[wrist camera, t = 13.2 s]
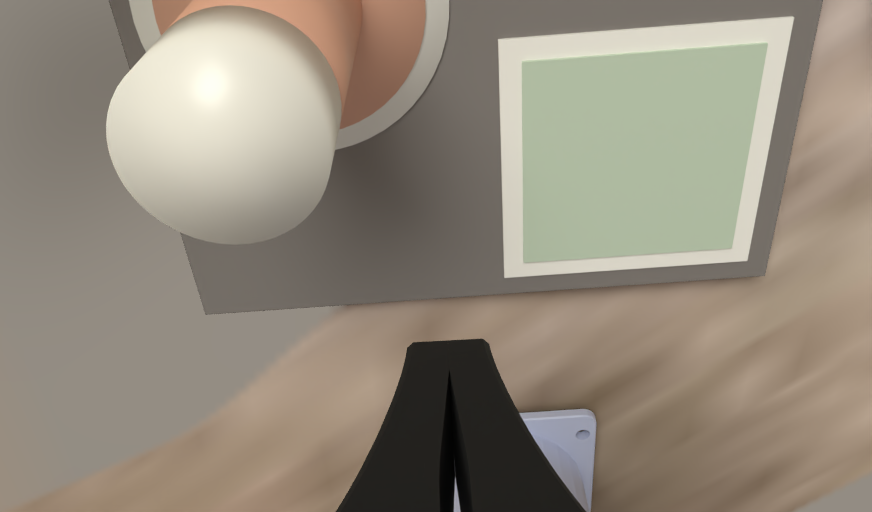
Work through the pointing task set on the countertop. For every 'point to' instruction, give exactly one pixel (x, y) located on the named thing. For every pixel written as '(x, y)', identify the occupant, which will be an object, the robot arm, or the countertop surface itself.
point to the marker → (236, 115)
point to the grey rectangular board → (532, 151)
